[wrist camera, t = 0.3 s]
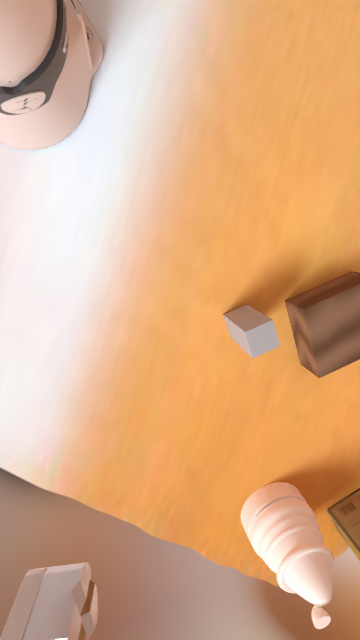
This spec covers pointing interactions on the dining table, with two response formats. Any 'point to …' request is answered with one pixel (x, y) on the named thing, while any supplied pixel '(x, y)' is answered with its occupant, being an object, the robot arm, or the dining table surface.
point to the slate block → (251, 330)
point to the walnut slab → (327, 324)
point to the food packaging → (348, 520)
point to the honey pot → (290, 544)
